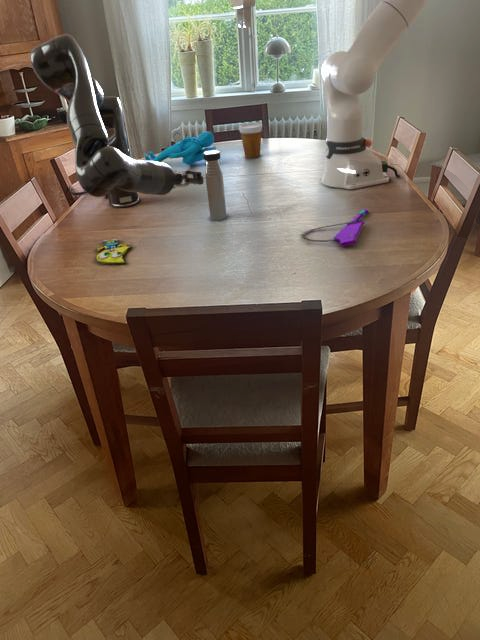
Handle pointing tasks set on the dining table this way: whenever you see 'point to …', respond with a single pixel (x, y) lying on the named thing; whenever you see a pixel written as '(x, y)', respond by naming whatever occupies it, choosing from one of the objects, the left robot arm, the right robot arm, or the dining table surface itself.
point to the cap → (211, 155)
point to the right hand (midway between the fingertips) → (244, 27)
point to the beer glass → (251, 139)
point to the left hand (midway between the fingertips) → (187, 182)
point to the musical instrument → (345, 231)
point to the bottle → (215, 190)
